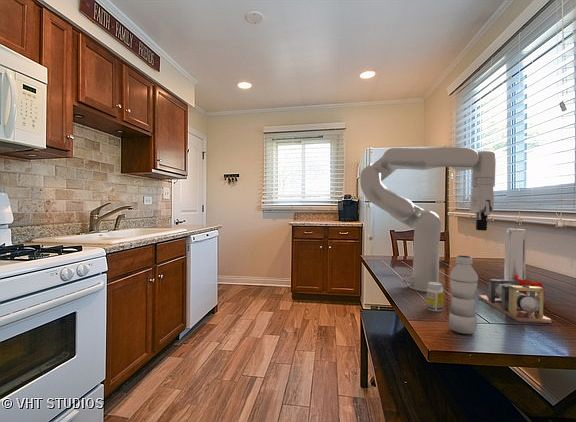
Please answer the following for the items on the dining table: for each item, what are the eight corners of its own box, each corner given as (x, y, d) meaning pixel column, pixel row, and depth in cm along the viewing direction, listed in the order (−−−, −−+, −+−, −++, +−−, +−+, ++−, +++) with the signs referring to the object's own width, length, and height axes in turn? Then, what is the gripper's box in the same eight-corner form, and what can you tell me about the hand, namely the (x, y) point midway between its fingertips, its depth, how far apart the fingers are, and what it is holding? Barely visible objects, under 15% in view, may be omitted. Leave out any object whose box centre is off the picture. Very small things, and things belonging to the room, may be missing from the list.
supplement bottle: (441, 307, 100) (442, 282, 100) (444, 312, 95) (444, 285, 95) (425, 306, 101) (426, 281, 101) (427, 310, 97) (427, 284, 97)
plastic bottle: (442, 327, 83) (444, 254, 83) (466, 327, 84) (467, 254, 83) (458, 337, 77) (459, 258, 76) (483, 337, 77) (484, 258, 77)
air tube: (522, 312, 90) (522, 296, 90) (493, 297, 106) (493, 283, 105) (539, 313, 89) (540, 297, 89) (508, 297, 105) (508, 284, 105)
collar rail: (517, 321, 89) (518, 288, 88) (478, 297, 111) (479, 272, 111) (551, 323, 87) (552, 290, 87) (505, 299, 110) (505, 273, 110)
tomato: (506, 297, 112) (507, 277, 112) (531, 298, 112) (531, 277, 112) (525, 305, 103) (526, 283, 103) (552, 306, 103) (553, 284, 102)
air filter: (517, 290, 122) (518, 228, 122) (528, 295, 115) (530, 229, 115) (500, 290, 123) (501, 227, 122) (510, 294, 116) (511, 229, 116)
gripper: (465, 184, 126) (463, 228, 126) (480, 181, 112) (478, 231, 112) (485, 184, 125) (483, 229, 125) (503, 181, 110) (501, 232, 110)
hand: (481, 230), depth 118 cm, fingers closed
